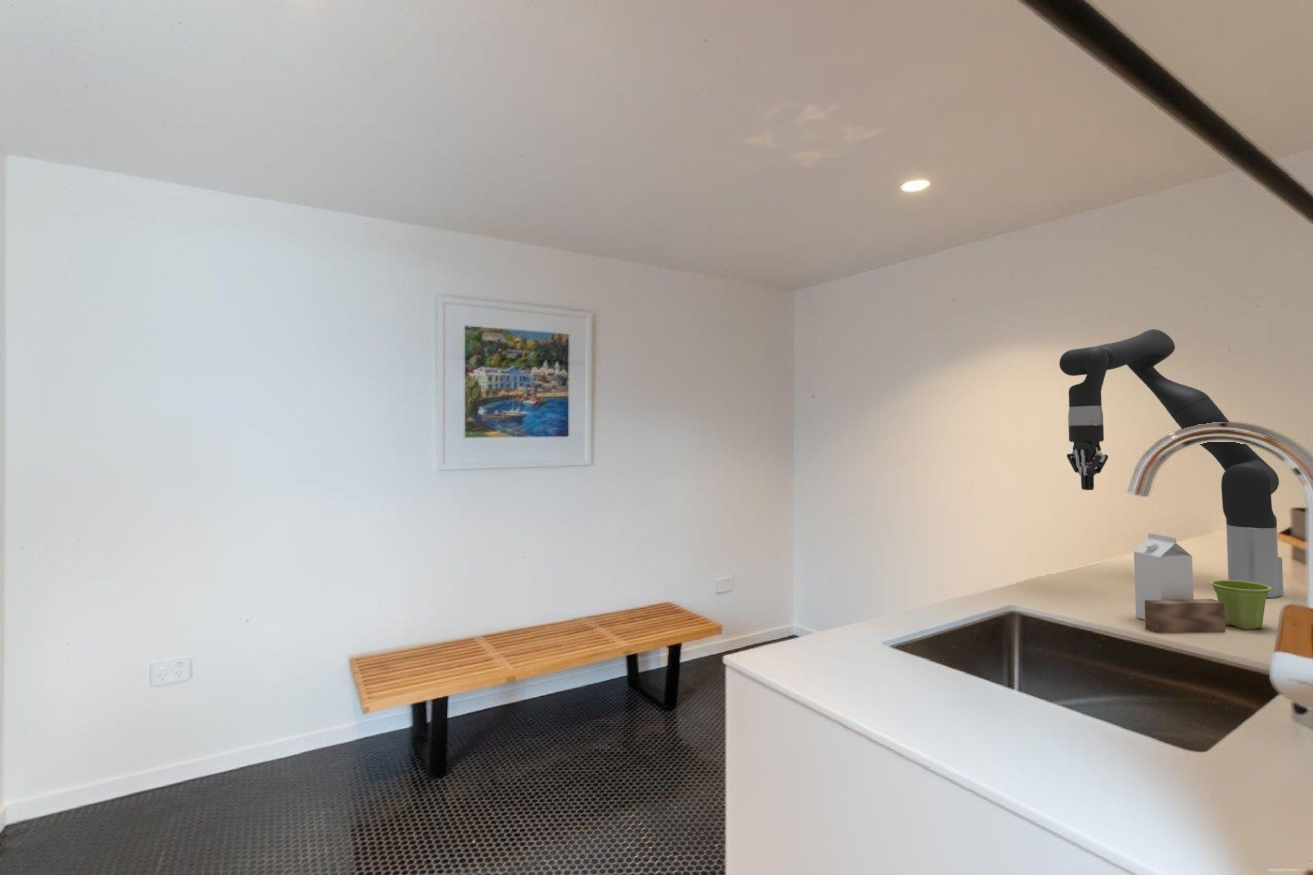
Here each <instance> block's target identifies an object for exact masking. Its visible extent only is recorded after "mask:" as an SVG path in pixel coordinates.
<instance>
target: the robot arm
mask: <svg viewBox="0 0 1313 875" xmlns="http://www.w3.org/2000/svg"><path fill="white" fill-rule="evenodd" d="M1175 349H1176V345H1175V342H1174V340H1173V339H1172V338H1171V336H1169V335H1168V334H1167V333H1166V332H1164V331H1162V330H1159V329H1148V330H1145V331H1144V332H1142V333H1139V334H1138V335H1136V336H1132V337H1129V338H1126V339H1123V340H1119V341H1115V342H1111V343H1104V344H1100V345H1095V346H1088V347H1082V348H1073V349H1070V350H1067V351H1065V352H1064V353H1063V354H1062V355H1061V357H1060V359H1059V363H1058V365H1059V368H1060V370H1061V372H1062V373H1064V374H1065V375H1066V376H1071V377H1074V376H1075V377H1076V376H1085V375H1086V376H1085V378H1084V379H1083V381H1082V382H1081V383H1077V384H1074V385H1072V386H1070V387H1069V389H1068V415H1067V418H1068V420H1067V422H1068V441H1069V442H1070V443H1073V446H1072V452H1071V453H1067V454H1066V458H1067V460H1068V463H1070V465H1071V468H1072V470H1073V471H1074V472H1075V473H1078V475H1079V476H1080V486H1081V490H1083V491H1093V490H1094V489H1095V484H1094V483H1095V482H1094V481H1095V480H1094V479H1095V476H1096V475H1098V474H1101V471H1102V470H1103V468H1104V466H1105V465H1106V463H1107V461H1108V459H1109V455H1107V454H1103V453H1102V447H1101V444H1100V442H1104V439H1105V435H1104V430H1105V429H1104V413H1103V407H1102V389H1103V385H1104V380H1105V377H1106V374H1107V371H1109V370H1110V371H1111V370H1115V369H1118V368H1121V367H1124V366H1126V365H1127V366H1128V369H1130V370H1131V371H1132V372H1133V374H1134V375H1135V376H1137V378H1139V380H1141V381H1142V383H1143V384H1145V385H1146V387H1147V388H1148V389H1149V390H1150V391H1151V393H1153V394H1154V396H1156V399H1158V401H1159V402H1160V404H1162V406H1163V407H1164V408H1165V410H1166V411H1167V412H1168V414H1169V415H1170V416H1171V417H1172V419H1173V420H1174V422H1176V424H1177V425H1178V426H1179V428H1180V429H1181V430H1182V429H1184V428H1187V427H1191V426H1195V425H1198V424H1206V423H1212V422H1230V421H1229V419H1228V418H1227V417H1226V416H1225V414H1224V413H1223V412H1222V411H1221V409H1220V408H1219V406H1217V405H1216V403H1215V402H1214V401H1213V399H1212V398H1211V397H1210V396H1209V395H1208V394H1207V393H1205V392H1203V391H1202V390H1200V389H1197V388H1195V387H1192V386H1188V385H1185V384H1181V383H1178V382H1175V381H1174V380H1171V379H1168V378H1167V377H1165V376H1164V375H1162V374H1161V373H1160V372H1159V371H1158V370H1157V369H1156V368H1155V367H1156V365H1158V364H1160V363H1161V362H1163V361H1164V360H1166V359H1167V358H1169V357H1170V356H1171V355H1172V354H1173V353H1174V351H1175ZM1246 444H1247V443H1246ZM1246 444H1240V443H1236V442H1207V443H1203V444H1199V445H1200V446H1201V448H1204V449H1205V450H1206V451H1207V452H1209V454H1211V455H1212V456H1213V457H1214V458H1215V459H1216V461H1217V462H1218V463H1219V464H1220V466H1221V467H1222V469H1223V470H1224V472H1223V474H1222V476H1221V483H1220V485H1221V486H1220V488H1221V501H1222V502H1221V503H1222V504H1221V505H1222V512H1223V514H1224V516H1225V522H1226V524H1225V525H1226V527H1225V528H1226V548H1227V549H1226V550H1227V553H1226V554H1227V555H1226V556H1227V557H1226V558H1227V580H1233V581H1245V582H1252V583H1258V584H1263V585H1267V586H1269V587H1271V590H1270V591H1269V593H1268V596H1267V597H1266V599H1267V598H1268V599H1269V598H1271V599H1272V598H1278V597H1283V596H1284V575H1283V573H1284V572H1283V558H1282V557H1281V556H1279V553H1278V552H1279V546H1278V544H1279V543H1278V523H1277V522H1278V520H1277V519H1278V518H1277V517H1276V514H1275V513H1274V511H1273V504H1272V495H1273V494H1274V493H1275V492H1276V491H1277V490H1278V488H1279V485H1280V480H1279V475H1278V474H1277V472H1276V471H1275V469H1273V467H1271V466H1270V465H1269V464H1268V463H1267V462H1266V461H1265V460H1264V459H1262V457H1261V456H1260V455H1258V454H1257V453H1256V451H1254V450H1253V448H1251V447H1250V446H1249V445H1248V444H1247V445H1246Z"/></svg>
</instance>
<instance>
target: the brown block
mask: <svg viewBox="0 0 1313 875" xmlns="http://www.w3.org/2000/svg"><path fill="white" fill-rule="evenodd" d="M1144 622H1145V629H1146V628H1147V630H1149V631H1151V630H1153V631H1152V632H1153V633H1156V632H1170V633H1208V632H1209V633H1219V632H1222V633H1223V632H1224V633H1225V632H1226V624H1225V608H1224V602H1221V601H1218V599H1213V598H1193V599H1179V600H1145V620H1144Z"/></svg>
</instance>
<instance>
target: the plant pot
mask: <svg viewBox="0 0 1313 875" xmlns="http://www.w3.org/2000/svg"><path fill="white" fill-rule="evenodd" d="M1210 585H1211V586H1212V587H1213V590H1214V592H1215V594H1216V598H1217V601H1221V602H1224V608H1225V626H1226V625H1227V626H1235V627H1236V628H1238V629H1248V630H1256V629H1261V628H1262V627H1263V621H1264V615H1265V607H1266V603H1267V602H1266V601H1267V596H1268V593H1269V591H1270V590H1271V587H1269V586H1267V585H1263V584H1258V583H1252V582H1245V581H1233V580H1228V579H1217V580H1216V579H1215V580H1212V581H1210Z"/></svg>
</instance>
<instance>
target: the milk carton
mask: <svg viewBox="0 0 1313 875" xmlns="http://www.w3.org/2000/svg"><path fill="white" fill-rule="evenodd" d="M1133 559H1134V560H1133V564H1134V596H1135V597H1134V598H1135V599H1134V601H1135V602H1134V603H1135V617H1136V618H1138V619H1141V620H1143V621H1145V600H1179V599H1194V579H1193V578H1194V576H1193V572H1194V571H1193V555H1191V553H1189V552H1188V551H1187V550H1185V548H1183V547H1182V546H1181V545H1180V544H1178V543H1177V537H1172V536H1167V535H1162V534H1157V533H1152V532H1148V533H1147V538H1146V539H1145V540H1144V541H1143V542H1142V543H1141V544H1140V545H1139V546H1137V547H1136V548H1135V550H1134V551H1133Z"/></svg>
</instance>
